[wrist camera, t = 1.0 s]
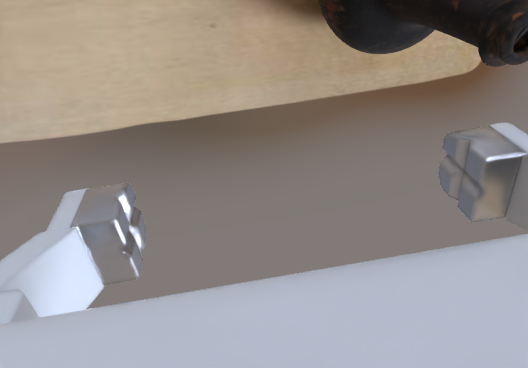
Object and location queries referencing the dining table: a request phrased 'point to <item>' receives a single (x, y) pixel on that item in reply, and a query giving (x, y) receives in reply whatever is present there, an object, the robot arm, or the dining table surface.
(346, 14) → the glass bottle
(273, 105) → the dining table surface
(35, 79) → the dining table surface
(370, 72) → the dining table surface
